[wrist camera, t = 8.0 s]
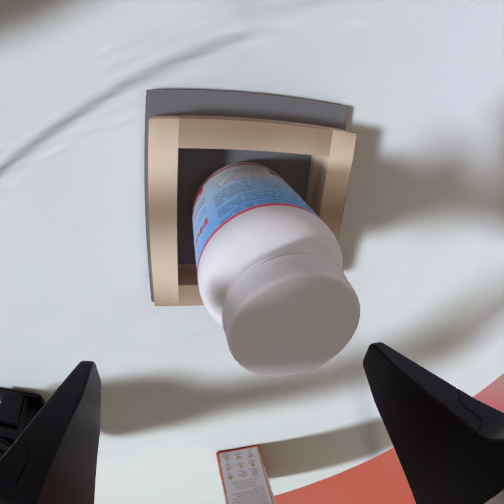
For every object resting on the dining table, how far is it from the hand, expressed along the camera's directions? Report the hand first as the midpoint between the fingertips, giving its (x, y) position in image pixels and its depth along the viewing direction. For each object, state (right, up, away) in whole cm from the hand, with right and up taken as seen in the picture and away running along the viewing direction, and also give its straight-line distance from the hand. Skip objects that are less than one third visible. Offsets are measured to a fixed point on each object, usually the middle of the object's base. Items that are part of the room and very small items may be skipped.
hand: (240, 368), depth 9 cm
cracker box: (-1, -27, +29) cm, 40 cm away
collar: (0, +7, +11) cm, 13 cm away
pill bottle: (0, +6, +11) cm, 12 cm away
